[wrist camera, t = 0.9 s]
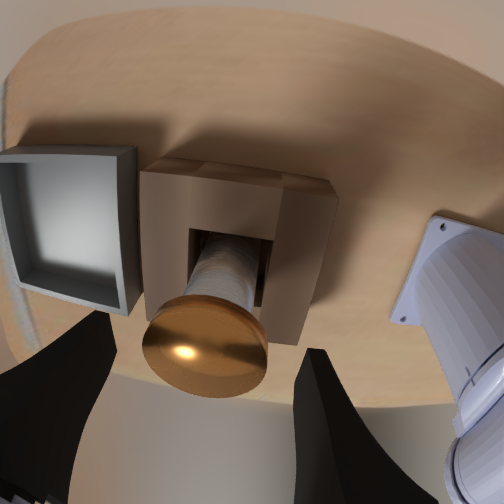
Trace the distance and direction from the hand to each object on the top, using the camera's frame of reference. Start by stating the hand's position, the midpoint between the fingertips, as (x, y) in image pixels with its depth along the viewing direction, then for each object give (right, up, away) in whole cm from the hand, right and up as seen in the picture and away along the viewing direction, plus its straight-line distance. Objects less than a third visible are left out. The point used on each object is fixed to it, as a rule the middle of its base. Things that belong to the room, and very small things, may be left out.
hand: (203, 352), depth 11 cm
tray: (-10, +6, +8) cm, 14 cm away
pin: (+1, +4, +8) cm, 9 cm away
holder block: (+1, +4, +8) cm, 9 cm away
